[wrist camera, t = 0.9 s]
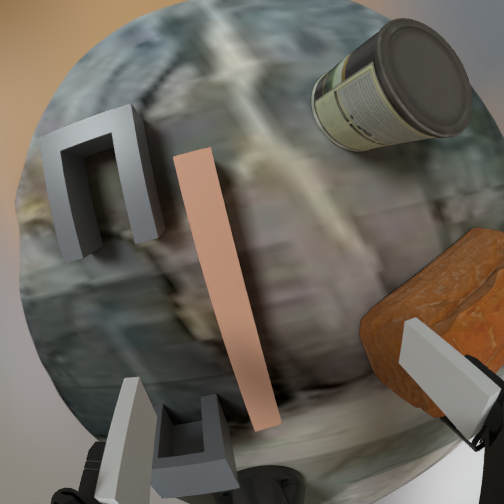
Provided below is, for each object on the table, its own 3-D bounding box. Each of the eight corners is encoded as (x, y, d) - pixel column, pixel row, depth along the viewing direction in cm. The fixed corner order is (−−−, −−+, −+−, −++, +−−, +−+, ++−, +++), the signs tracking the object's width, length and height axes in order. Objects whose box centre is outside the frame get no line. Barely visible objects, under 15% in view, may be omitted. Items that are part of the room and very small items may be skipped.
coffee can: (307, 63, 28) (369, 1, 15) (383, 78, 30) (461, 41, 16) (311, 149, 30) (387, 124, 17) (390, 156, 32) (479, 147, 18)
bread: (489, 288, 40) (552, 315, 26) (377, 385, 39) (434, 447, 24) (478, 216, 37) (554, 231, 22) (349, 315, 35) (424, 378, 21)
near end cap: (166, 229, 29) (158, 238, 24) (87, 250, 28) (64, 263, 22) (143, 119, 27) (130, 103, 21) (65, 146, 26) (39, 137, 20)
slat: (268, 388, 35) (282, 423, 29) (245, 395, 35) (255, 431, 28) (207, 157, 29) (210, 147, 22) (178, 165, 29) (172, 156, 22)
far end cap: (228, 425, 35) (240, 487, 25) (165, 436, 34) (162, 498, 24) (216, 393, 34) (225, 458, 23) (148, 406, 33) (138, 470, 22)
